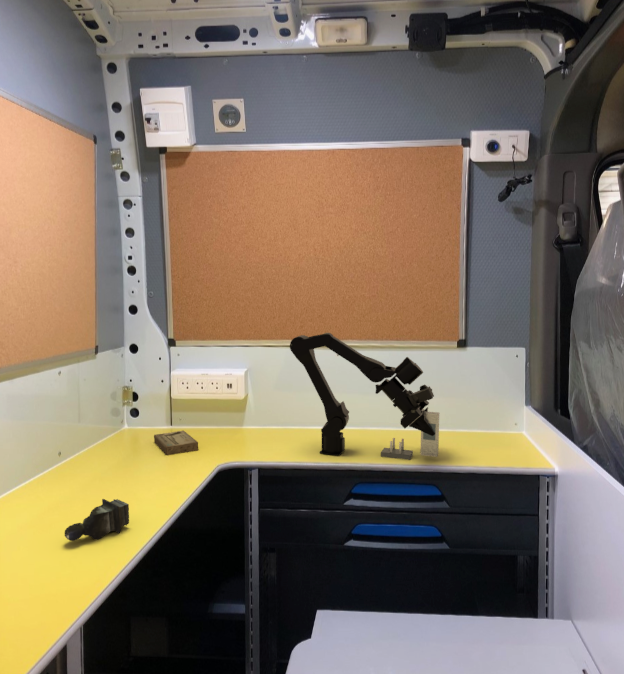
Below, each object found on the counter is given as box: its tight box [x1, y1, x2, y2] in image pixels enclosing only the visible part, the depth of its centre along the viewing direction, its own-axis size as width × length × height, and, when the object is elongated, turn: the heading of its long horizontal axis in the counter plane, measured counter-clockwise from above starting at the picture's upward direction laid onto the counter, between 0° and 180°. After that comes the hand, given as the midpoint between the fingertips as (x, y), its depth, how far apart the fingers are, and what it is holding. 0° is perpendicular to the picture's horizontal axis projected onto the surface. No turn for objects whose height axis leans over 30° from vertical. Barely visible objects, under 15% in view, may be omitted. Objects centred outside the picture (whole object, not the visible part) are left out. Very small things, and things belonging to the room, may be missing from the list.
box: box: [153, 430, 199, 456], centre depth 179 cm, size 11×17×3 cm, turn 29°
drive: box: [420, 411, 440, 458], centre depth 163 cm, size 5×2×13 cm, turn 70°
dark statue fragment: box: [64, 498, 130, 542], centre depth 114 cm, size 6×13×6 cm, turn 146°
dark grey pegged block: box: [380, 437, 414, 461], centre depth 167 cm, size 9×5×5 cm, turn 70°
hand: (434, 433), depth 162 cm, fingers closed on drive, 2 cm apart
